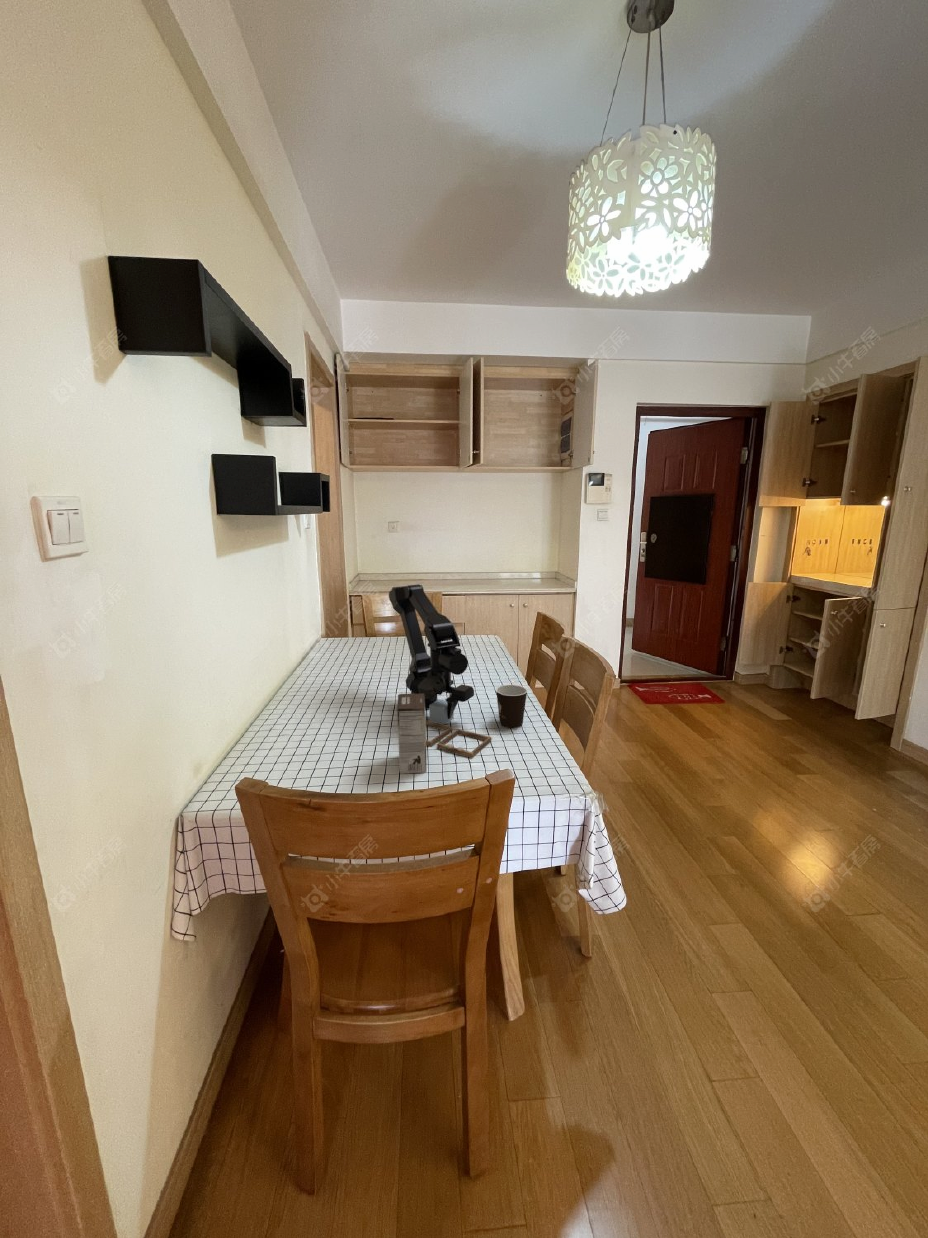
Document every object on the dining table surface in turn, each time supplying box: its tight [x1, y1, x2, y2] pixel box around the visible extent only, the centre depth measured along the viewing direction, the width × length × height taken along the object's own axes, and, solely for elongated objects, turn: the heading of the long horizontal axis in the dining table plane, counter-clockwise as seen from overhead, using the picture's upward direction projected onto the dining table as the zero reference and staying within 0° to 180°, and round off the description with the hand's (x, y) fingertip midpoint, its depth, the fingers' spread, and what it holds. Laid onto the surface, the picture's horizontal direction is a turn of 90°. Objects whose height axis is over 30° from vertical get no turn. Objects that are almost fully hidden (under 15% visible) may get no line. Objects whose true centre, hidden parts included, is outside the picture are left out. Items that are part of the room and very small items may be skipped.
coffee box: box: [396, 693, 427, 774], centre depth 113 cm, size 9×6×16 cm
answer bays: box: [426, 720, 492, 759], centre depth 127 cm, size 22×11×2 cm, turn 60°
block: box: [428, 698, 455, 726], centre depth 139 cm, size 5×5×5 cm
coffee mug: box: [495, 684, 528, 729], centre depth 137 cm, size 12×9×10 cm
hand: (441, 716), depth 139 cm, fingers closed on block, 5 cm apart
